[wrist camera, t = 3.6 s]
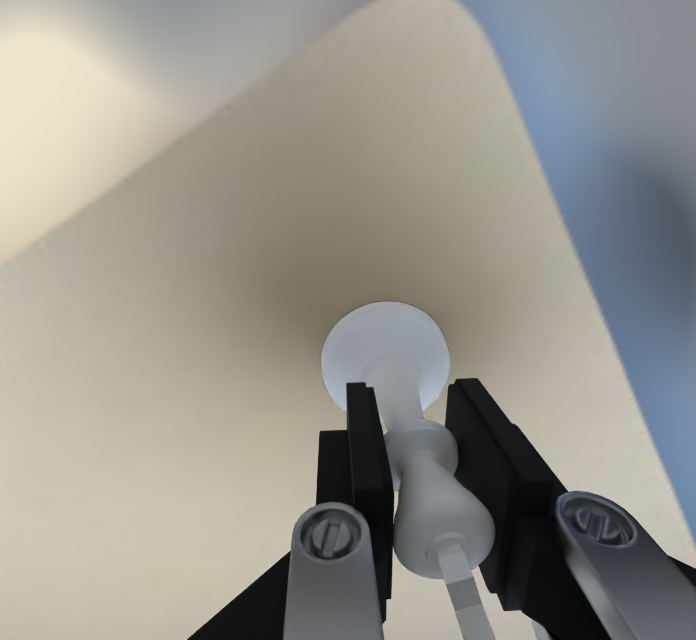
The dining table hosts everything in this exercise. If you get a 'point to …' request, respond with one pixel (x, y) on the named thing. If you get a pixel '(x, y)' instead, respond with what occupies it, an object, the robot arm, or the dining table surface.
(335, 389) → the chess piece
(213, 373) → the dining table surface
